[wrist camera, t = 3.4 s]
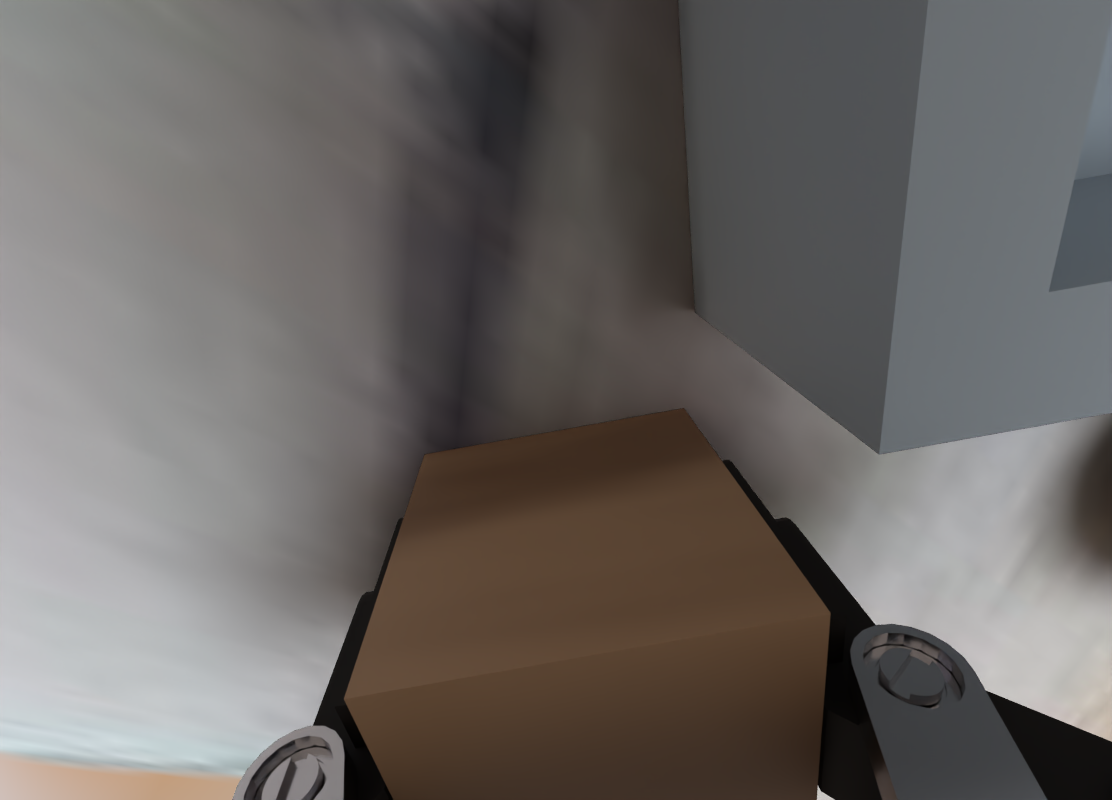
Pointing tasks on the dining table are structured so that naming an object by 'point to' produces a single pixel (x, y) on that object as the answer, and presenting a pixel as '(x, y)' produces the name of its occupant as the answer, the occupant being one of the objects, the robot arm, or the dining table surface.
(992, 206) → the tray
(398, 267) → the dining table surface
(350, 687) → the walnut cube
